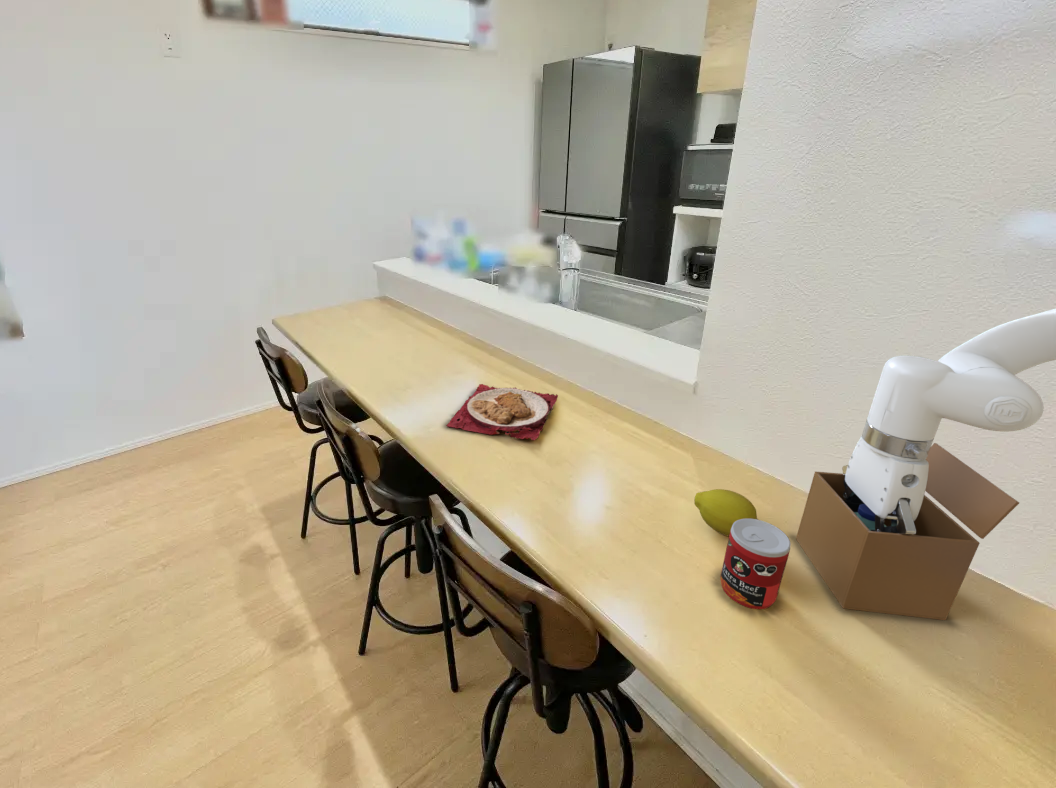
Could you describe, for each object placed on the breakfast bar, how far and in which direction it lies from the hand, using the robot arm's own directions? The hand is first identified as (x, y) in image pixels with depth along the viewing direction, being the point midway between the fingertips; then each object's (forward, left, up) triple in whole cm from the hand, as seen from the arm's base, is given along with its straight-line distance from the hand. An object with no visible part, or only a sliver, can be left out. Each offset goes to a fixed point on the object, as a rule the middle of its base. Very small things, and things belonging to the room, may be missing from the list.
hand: (862, 535), depth 78 cm
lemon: (+17, -8, -8) cm, 20 cm away
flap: (-10, 0, +10) cm, 14 cm away
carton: (-2, 0, -8) cm, 8 cm away
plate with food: (+60, -47, -8) cm, 77 cm away
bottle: (0, 0, -7) cm, 7 cm away
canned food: (+18, +6, -8) cm, 21 cm away
